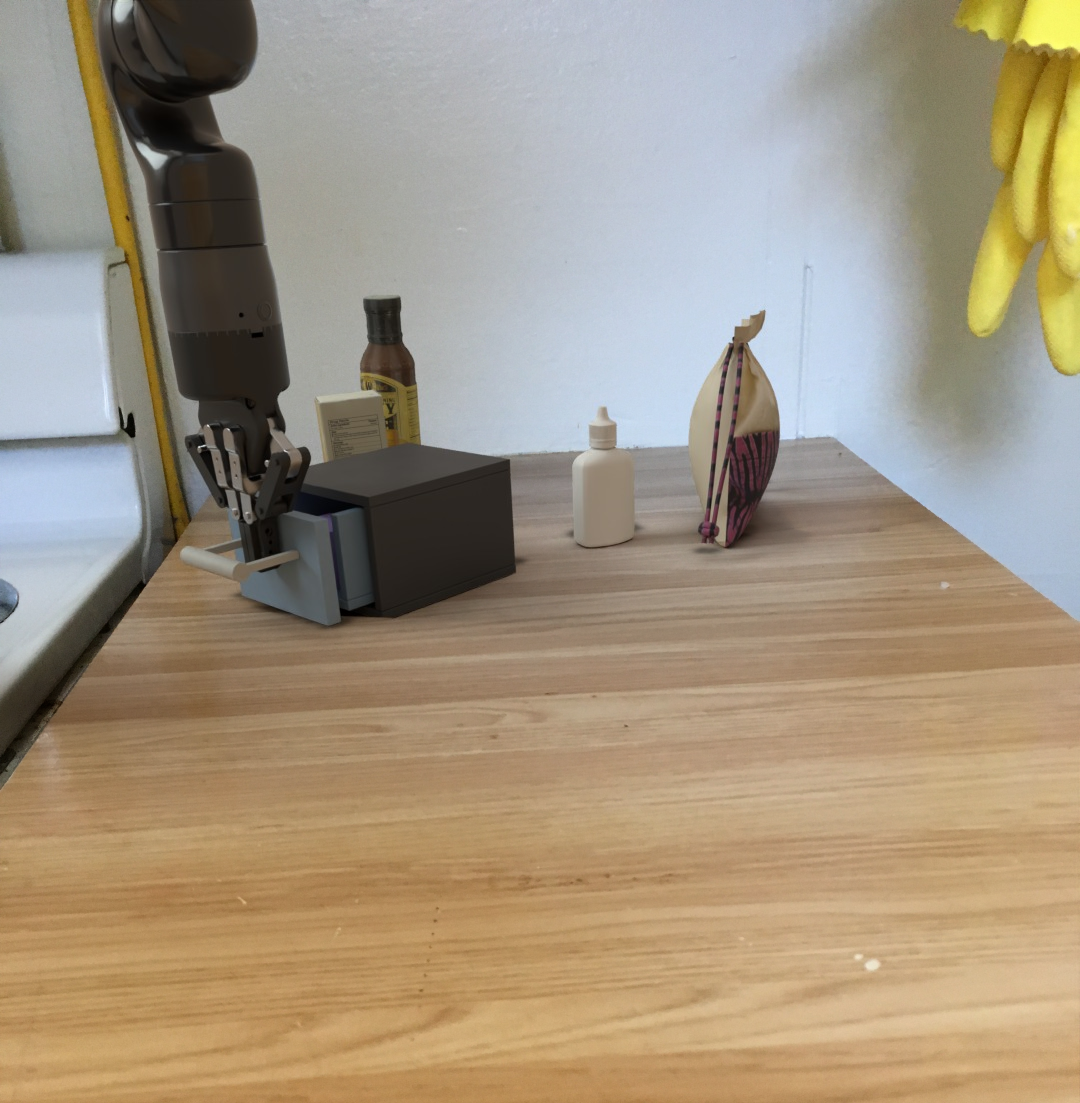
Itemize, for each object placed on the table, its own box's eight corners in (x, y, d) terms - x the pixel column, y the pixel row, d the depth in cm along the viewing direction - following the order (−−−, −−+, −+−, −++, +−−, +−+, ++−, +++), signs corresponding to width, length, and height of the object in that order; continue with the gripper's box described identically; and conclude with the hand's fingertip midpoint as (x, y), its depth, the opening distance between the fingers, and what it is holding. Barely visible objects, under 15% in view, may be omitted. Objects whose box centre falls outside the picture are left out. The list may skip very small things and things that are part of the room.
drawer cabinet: (383, 622, 81) (368, 497, 76) (286, 590, 88) (268, 475, 84) (516, 572, 90) (510, 459, 86) (418, 547, 98) (408, 442, 94)
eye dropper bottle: (573, 535, 99) (569, 403, 94) (633, 532, 99) (632, 400, 94) (574, 549, 95) (570, 412, 90) (636, 546, 95) (636, 409, 90)
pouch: (772, 563, 89) (785, 323, 81) (673, 561, 91) (677, 325, 83) (777, 490, 111) (788, 295, 103) (698, 489, 113) (702, 298, 105)
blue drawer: (262, 650, 74) (244, 541, 71) (177, 616, 81) (157, 516, 78) (462, 578, 86) (455, 483, 83) (373, 554, 93) (363, 465, 90)
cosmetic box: (390, 509, 111) (377, 388, 106) (398, 519, 107) (385, 394, 102) (328, 516, 109) (312, 394, 104) (334, 527, 105) (318, 400, 100)
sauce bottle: (358, 482, 122) (337, 297, 114) (397, 471, 127) (379, 292, 118) (397, 489, 119) (378, 298, 110) (436, 477, 123) (421, 293, 114)
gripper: (124, 323, 73) (173, 565, 81) (229, 330, 65) (273, 600, 72) (220, 312, 78) (257, 542, 85) (329, 318, 70) (360, 572, 77)
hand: (264, 568), depth 79 cm, fingers closed
